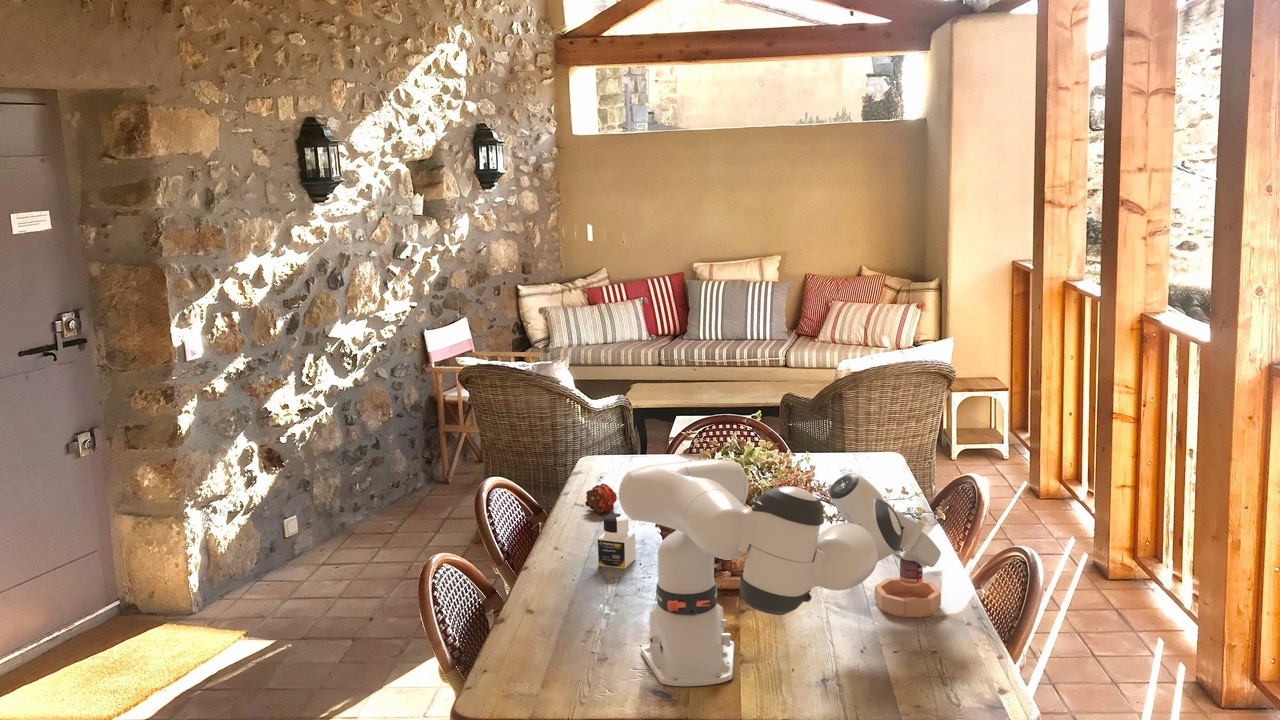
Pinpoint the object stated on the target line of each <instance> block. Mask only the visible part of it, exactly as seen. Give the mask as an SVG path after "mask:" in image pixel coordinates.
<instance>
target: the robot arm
mask: <svg viewBox="0 0 1280 720" xmlns="http://www.w3.org/2000/svg"><path fill="white" fill-rule="evenodd" d="M749 486H750V485H749V480H748V476H747V474H746V472H745V470H744V469H743V467H742V466H741V465H740V464H739V463H738V462H736V461H735V460H727V459H717V458H708V459H697V460H689V461H688V460H687V461H680V462H670V463H659V464H649V465H647V466H642V467H639V468H635V469H632V470H631V471H627V472H626V473H625V475H624V476H623V478H622V480H621V481H620V484H619V489H618V500H619V504H620V507H621V509H622V511H623V512H624V513H625V515H626V516H627V517H628V519H631V521H639V522H643V523H644V522H645V523H652V524H656V525H659V526H664V527H667V528H669V529H673V530H675V531H673V532H671V533H670V534H668V535H667V536H666V537H665V538H664V539H663V540H662V541H661V543H660V544H659V547H658V550H657V577H658V579H657V583H656V589H655V595H656V605H655V606H654V608H653V609H651V611H650V612H649V643H647V644H645V645H643V646H641V648H640V654H641V656H642V658H644V660H645V662H646V663H647V664H648V665H647V666H649V668H650V670H651V671H652V672H653V674H654V675H655V677H656V679H657V680H658V682H659V683H660V684H662V685H667V686H673V687H699V686H702V687H703V686H710V685H711V686H712V685H717V684H721V683H725V682H727V681H729V680H732V679H733V677H734V663H735V643H734V640H731V633H729V632H724V628H727V626H728V619H724V608H723V606H721V605H720V604H719V603H718V588H717V583H716V581H715V559H716V558H719V559H723V560H732V559H736V558H738V557H740V556H742V555H743V554H745V553H747V554H746V558H745V564H744V568H743V572H742V575H741V576H740V581H739V596H740V598H741V599H742V600H743V602H744V603H745V604H746V605H747V606H749V607H751V608H752V609H754V610H755V611H756V612H757V611H758V612H759V613H762V614H766V615H772V616H783V615H787V614H789V613H791V612H793V611H796V610H797V609H798V608H799V607H800V606H801V605H802V604H803V603H808V602H810V601H811V600H812V595H811V594H810V593H811V591H812V589H813V588H815V587H816V588H817V587H820V588H823V589H826V590H829V591H846V590H849V589H853V588H854V587H857V586H858V585H860V584H862V583H863V582H864V581H866V580H867V579H868V578H869V577H870V576H871V574H872V573H873V572H874V571H875V569H876V566H877V565H878V562H880V561H882V560H884V559H886V558H888V557H889V556H891V555H894V556H895V558H896V559H899V560H900V556H902V557H905V558H907V559H910V560H913V561H916V563H917V564H918V565H919V566H921V567H923V569H925V568H926V567H930V568H934V567H935V566H936V564H937V563H938V561H939V559H940V558H941V556H942V555H941V554H942V553H941V550H940V548H939V547H938V546H937V545H936V544H935V542H934V541H933V539H931V538H930V536H928V535H927V534H926V533H925V532H923V530H924V527H923V526H922V525H921V524H920V523H919V522H916V521H915V520H913V519H911V518H909V517H907V516H905V515H904V514H903V513H901V512H900V511H899V510H897V509H895V508H894V506H892V505H891V503H889V501H887V500H885V499H884V498H883V495H882V494H881V493H880V491H879V490H878V489H877V488H876V487H875V486H874V485H873V484H871V482H869V481H868V480H867V479H866V478H864V477H863V476H862V475H861V474H858V473H855V472H854V473H853V472H852V473H847V474H844V475H842V476H841V477H839V478H838V479H836V480H835V481H834V482H833V483H832V485H831V486H830V488H829V490H828V491H829V492H828V496H829V498H830V500H831V502H832V503H833V505H834V507H835V508H836V509H837V510H838V512H839V513H840V514H841V516H843V518H844V519H845V520H846V521H847V522H843V523H838V524H835V525H832V526H829V527H827V528H826V529H824V530H822V532H820V527H821V526H822V525H823V522H824V505H823V503H822V502H821V500H820V499H819V497H817V496H814V494H812V493H811V492H809V491H807V490H806V489H804V488H801V487H798V486H791V485H786V486H775V487H773V488H770V489H768V490H765V492H763V493H762V494H761V495H760V496H755V497H753V498H752V499H751V500H750V504H751V505H752V506H753V507H747V506H745V505H744V504H745V502H746V500H747V498H748V494H749Z"/></svg>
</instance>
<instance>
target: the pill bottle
mask: <svg viewBox="0 0 1280 720" xmlns="http://www.w3.org/2000/svg"><path fill="white" fill-rule="evenodd" d="M923 570H924V568H923V567H921V566H919V565H918V564H917V563H916V561H913V560H910V559H907V558H905V557H902V556H900V559H899V578H900V582H901V583H902V584H904V585H907V586H918V585H920V584H922V580H923V573H924V571H923Z"/></svg>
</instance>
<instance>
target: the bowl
mask: <svg viewBox="0 0 1280 720" xmlns="http://www.w3.org/2000/svg"><path fill="white" fill-rule="evenodd" d="M874 600H875V601H876V606H877V608H878V609H879V610H880V609H881V610H880V611H881V612H883V613H885V614H887V613H888V615H890V616H893V615H894V616H893V617H898V616H900V618H904V617H921V618H925V616H926V617H929V616H928V615H930V616H932V615H934V614H935V613H934V612H936V611H937V609H938V610H939V607H941V606H942V591H941V590H940V589H939V588H938V587H937V585H935V584H934V582H932V581H928V580H923V579H922V584H920V585H918V586H907V585H904V584H902V583H901V582H900V577H892V578H891V577H889V578H885V579H884V580H882V581H880V582H879V583H877V584H875V585H874ZM937 612H938V611H937ZM937 612H936V613H937ZM933 613H934V614H933ZM931 614H932V615H931Z"/></svg>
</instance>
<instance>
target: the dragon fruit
mask: <svg viewBox="0 0 1280 720" xmlns="http://www.w3.org/2000/svg"><path fill="white" fill-rule="evenodd" d="M611 487H612V486H611ZM611 487H610V486H609V485H608V484H607V483H604V482H603V483H600V485H599V484H597V485H595V486H593V487H592V489H590V490H587V491H586V494H585V495H586V496H585V497H586V498H585V499H586V500H585V502H584V504H585V506H586V507H588V508H589V509H590V510H593V511H594V512H595V513H597V514H601V515H602V514H604V513H605V511H607V512H609V511H613V510H614V509H615V506H614V504H615V503H616V502H617V499H618V496H617V494H616V492H615V491H614V490H613V488H611Z"/></svg>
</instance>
